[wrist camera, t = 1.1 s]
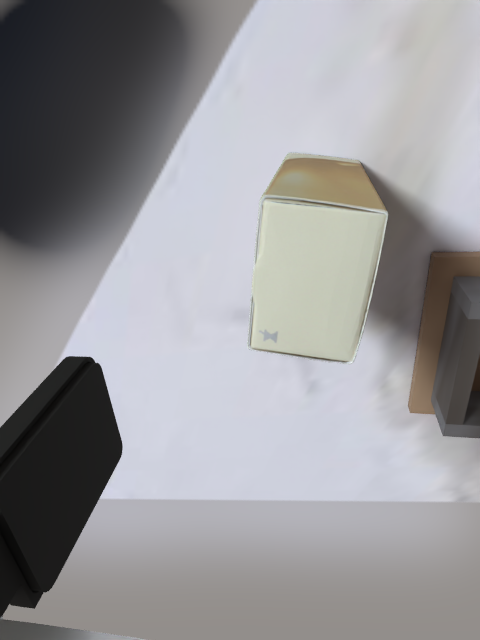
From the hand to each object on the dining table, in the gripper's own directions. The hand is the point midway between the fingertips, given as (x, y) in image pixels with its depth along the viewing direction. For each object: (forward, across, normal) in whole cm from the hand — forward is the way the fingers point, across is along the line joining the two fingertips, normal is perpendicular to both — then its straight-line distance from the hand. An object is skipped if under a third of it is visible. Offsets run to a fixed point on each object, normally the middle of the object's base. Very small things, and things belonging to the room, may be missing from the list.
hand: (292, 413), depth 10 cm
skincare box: (+19, 0, 0) cm, 19 cm away
